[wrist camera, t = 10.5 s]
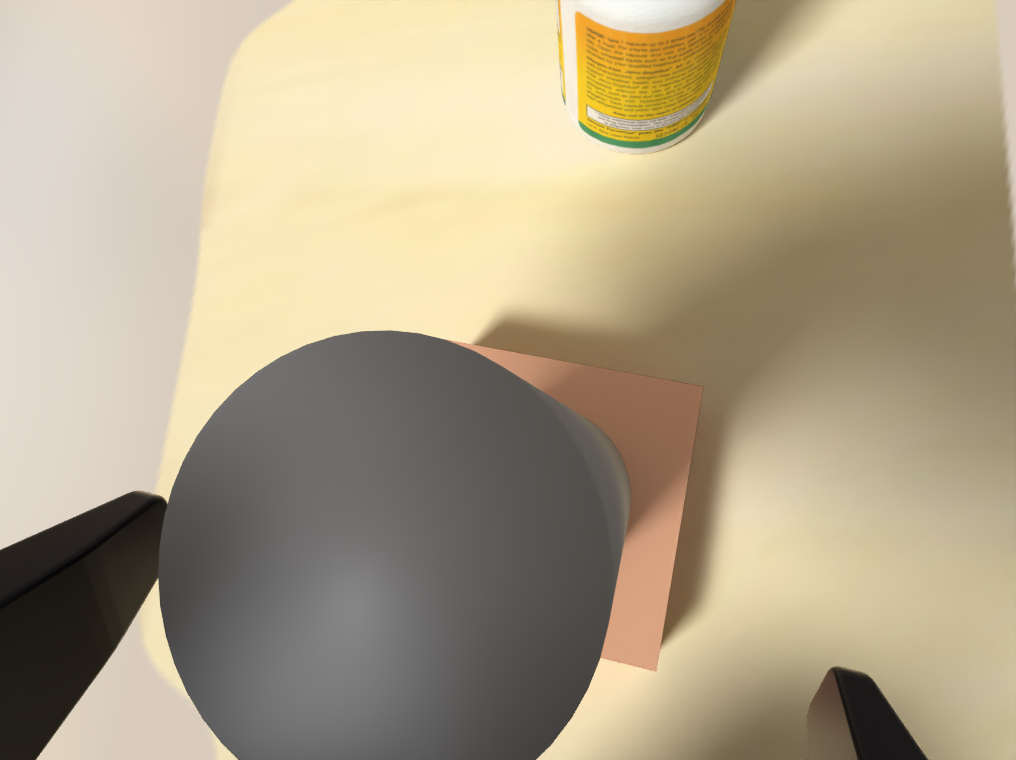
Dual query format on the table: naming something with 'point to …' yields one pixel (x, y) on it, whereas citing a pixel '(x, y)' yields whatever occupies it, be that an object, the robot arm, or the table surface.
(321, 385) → the charcoal mill
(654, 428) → the terracotta block
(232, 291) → the table surface
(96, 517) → the robot arm
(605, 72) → the supplement bottle
